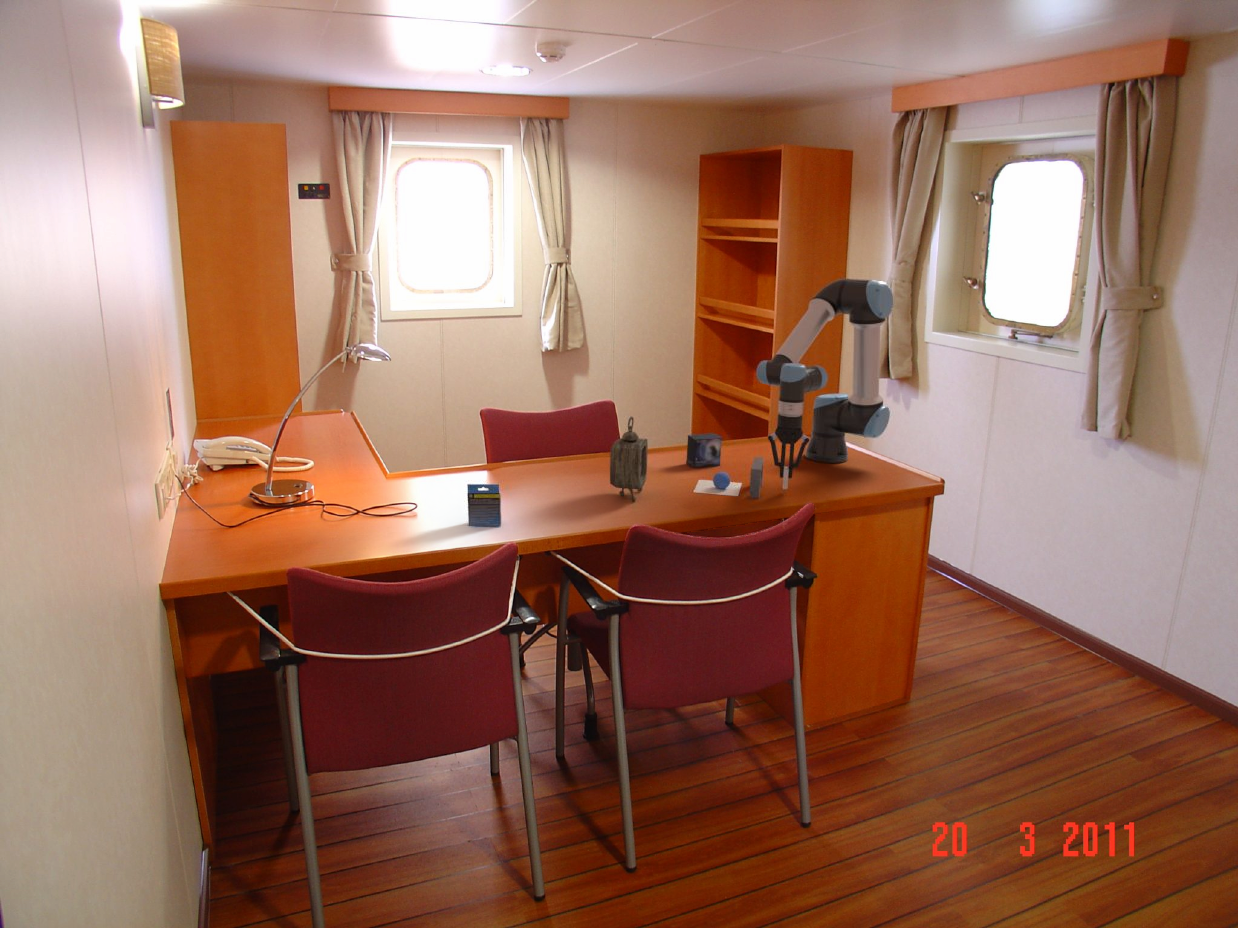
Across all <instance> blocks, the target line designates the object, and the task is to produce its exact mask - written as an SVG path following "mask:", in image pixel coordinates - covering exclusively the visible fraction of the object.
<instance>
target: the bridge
mask: <svg viewBox="0 0 1238 928" xmlns="http://www.w3.org/2000/svg"><path fill="white" fill-rule="evenodd" d="M764 459H765V458H764V457H760V456H759V457H758V456H754V458H753V461H752V464H751V468H750V478H749V481H750V482H749V495H748V496H749V497H748V498H750V499H751V498H753V499H760V495H761V487H763V474H764Z"/></svg>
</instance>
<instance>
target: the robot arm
mask: <svg viewBox="0 0 1238 928" xmlns="http://www.w3.org/2000/svg"><path fill="white" fill-rule="evenodd" d="M893 307H894V295H893V290H892V289H891V287H890V286H889V285H888V283H886V282H885V281H878V280H875V279H856V278H846V277H845V278H841V279H836V280H834V281H832V282H830V283H827V285H825V286H824V287H822V288H821V289H820V290H819V291H818V292H816V294H815V295H814V296H813V297H812V298H811V300H810V301H809V303H808V309H807V310H806V312H805V313H804V315H802V317H801V318H800V320H799V321H798V323H797V324H796V325H795V327H794V328H793V330H792V331H791V332H790V334H789V335H788V337H786V339H785V341H784V342H783V343H782V345H781V346H780V348H779V349H778V351H777V352H776V353H775V355H773V356H772V358H771V360H768V359H767V360H762V361H760V362H759V364H758V365H757V368H756V373H755V374H756V378H757V381H758V382H760V383H761V384H764V385H768V386H776V387H779V398H778V409H777V412H778V415H777V421H776V422H777V423H776V429H774V432H772V433H769V434H767V440H768V441H769V443H770V447H771V452H772V457H773V462H774V466H775V467H779V478H781V479H782V489H783V490H788V486H789V485H788V484H789V479H792V477H793V471H794V470H793V469H794V468H799V466H800V464H801V463H800V462H801V460H802V458H803V454H804V451H805V454H804V455H805V457H806V458H807V459H808V460H810V461H813V462H814V461H815V462H819V463H830V464H831V463H832V464H837V463H844V462H846V461H848V459H849V451H848V447H847V446H848V445H847V443H846V442H847V441H846V437H845V436H846V434H849V435H853V436H859V437H864V438H870V439H871V438H872V439H877V438H879V437H880V436H881V435H883V433H884V432H885V431H886V428H887V427H888V424H889V421H890V417H891V415H890V414H891V411H890V408H889V407H888V406H886V405H884V398H883V397H882V395H881V394H879V393H880V362H881V361H880V358H881V356H880V355H881V326H882V325H883V324H884V323H886V318H888V317H889V316H890V315H891V313H892V312H893V310H892V309H893ZM840 314H842V315H848V317H849V318H848V320H849V321H848V322H849V324H851V326H853V355H852V356H853V359H852V360H853V361H852V365H853V366H852V367H853V369H852V394H851V395H850V396H849V395H848V394H845V393H827V394H821V395H818V396H816V398H815V399H814V403H813V408H812V409H813V416H812V427H811V428H812V429H811V437H809V436H807V435H805V434H804V431H803V419H804V418H803V413H804V405H805V404H804V403H805V393H810V392H816V391H818V390H821V389H823V388H824V387H825V386H826V385H827V383H828V381H829V379H828V378H829V376H828V373H827V371H826V369H825V368H824V367H822V366H820V365H811V366H806V364H803V363H799V362H800V360H801V359H802V358H803V356H804V355H805V354H806V352H807V351H808V349H809V348H810V347H811V345H812V343H813V342H814V341H815V339H816V338H817V337H818V336H819V334H820V333H821V331H822V329H824V327H825V326H826V324H827V323H828V322H830V321H833V320H834V318H835V317H836V316H837V315H840ZM776 439H778V440H779V442H780V443H781V451H780V452H781V453H780V461H779V457H778V456H779V455H778V450H777V444H776ZM800 439H801V445H800V447H799V449H798V453H797V455H796V459H795V462H794V458H795V457H794V455H795V444H796V443H798V441H800ZM787 445H789V458H788V459H789V461H788V466H785V464H786V463H785V462H786V451H787V450H786V449H787ZM806 445H807V446H806ZM805 448H806V449H805Z"/></svg>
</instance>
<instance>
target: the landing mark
mask: <svg viewBox="0 0 1238 928" xmlns="http://www.w3.org/2000/svg"><path fill="white" fill-rule="evenodd" d="M742 485H743V482H734V481H733V482H732V481H730V484H729V486H728V487H727V488H725V489H718V488H716V487H715V486H714V484H713V480H708V479H698V481H697V483H696V485H695V488H694V490H693V491H692V492H693V493H694V494H705V495H719V496H729V497H739V495H740V491H741V487H742Z"/></svg>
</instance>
